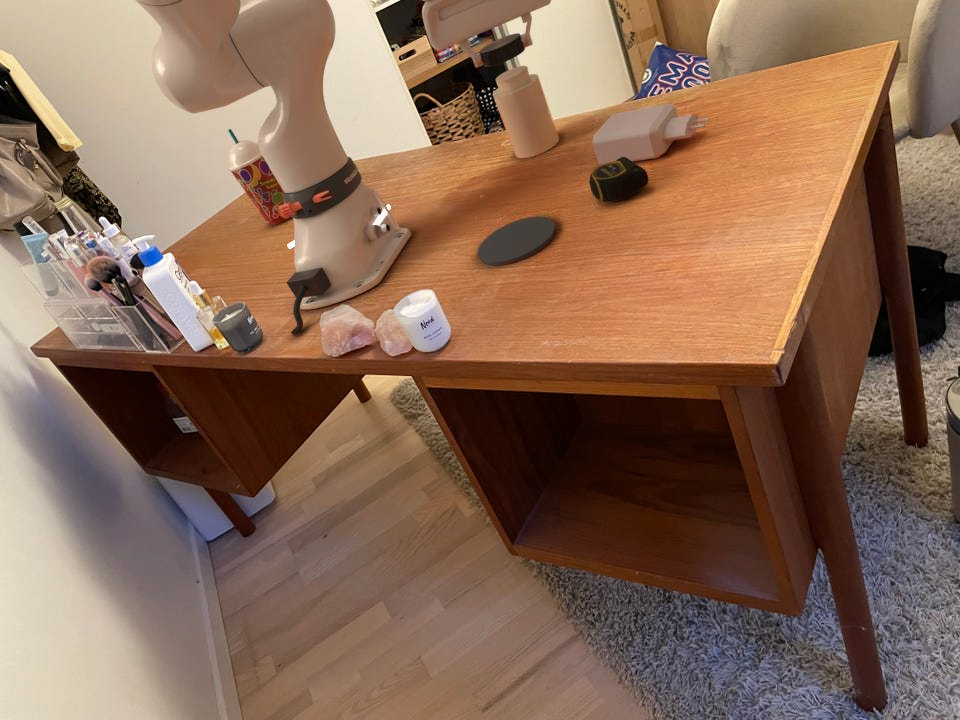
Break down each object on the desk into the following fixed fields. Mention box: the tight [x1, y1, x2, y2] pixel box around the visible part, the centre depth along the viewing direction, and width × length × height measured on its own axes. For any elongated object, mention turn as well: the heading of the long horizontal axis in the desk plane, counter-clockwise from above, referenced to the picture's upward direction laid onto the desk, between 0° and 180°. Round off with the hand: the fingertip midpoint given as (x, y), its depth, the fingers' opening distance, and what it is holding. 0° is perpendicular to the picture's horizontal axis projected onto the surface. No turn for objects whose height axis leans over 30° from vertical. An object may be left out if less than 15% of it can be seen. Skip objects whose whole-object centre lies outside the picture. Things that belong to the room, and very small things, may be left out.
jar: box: [492, 65, 560, 159], centre depth 115 cm, size 8×8×13 cm
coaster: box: [477, 216, 557, 266], centre depth 92 cm, size 11×11×1 cm
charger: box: [591, 102, 710, 167], centre depth 97 cm, size 5×9×15 cm
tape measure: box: [588, 157, 649, 203], centre depth 90 cm, size 7×7×4 cm
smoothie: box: [227, 128, 292, 226], centre depth 139 cm, size 8×8×20 cm
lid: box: [479, 33, 526, 68], centre depth 109 cm, size 7×7×2 cm
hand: (503, 55), depth 110 cm, fingers closed on lid, 7 cm apart
